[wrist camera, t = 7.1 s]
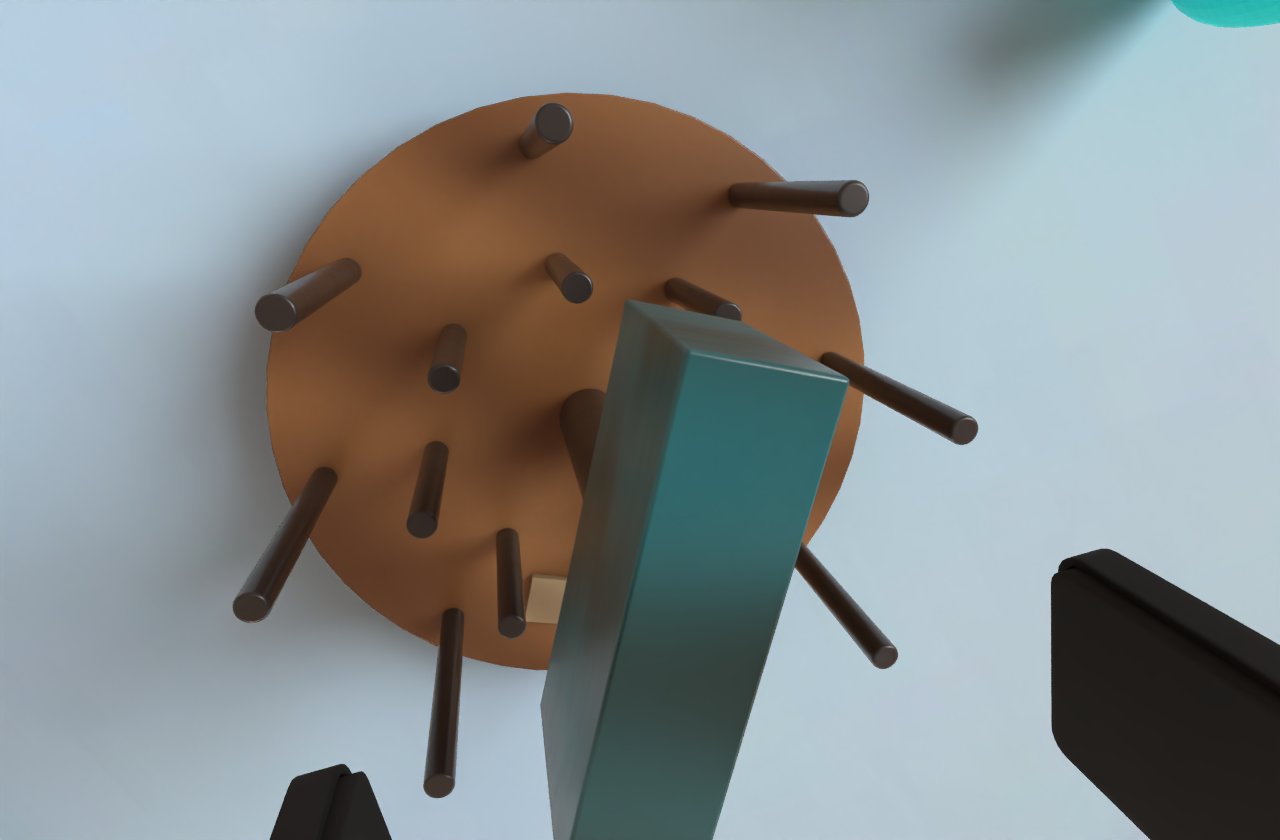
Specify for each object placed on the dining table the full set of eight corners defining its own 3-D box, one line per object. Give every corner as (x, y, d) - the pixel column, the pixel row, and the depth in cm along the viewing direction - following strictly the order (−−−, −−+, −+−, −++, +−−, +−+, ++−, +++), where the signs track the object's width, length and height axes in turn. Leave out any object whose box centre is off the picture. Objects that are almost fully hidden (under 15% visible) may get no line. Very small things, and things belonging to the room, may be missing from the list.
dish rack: (305, 16, 18) (-58, -324, 6) (920, 180, 23) (1414, 171, 11) (252, 632, 23) (-14, 1134, 11) (771, 669, 27) (996, 1053, 15)
